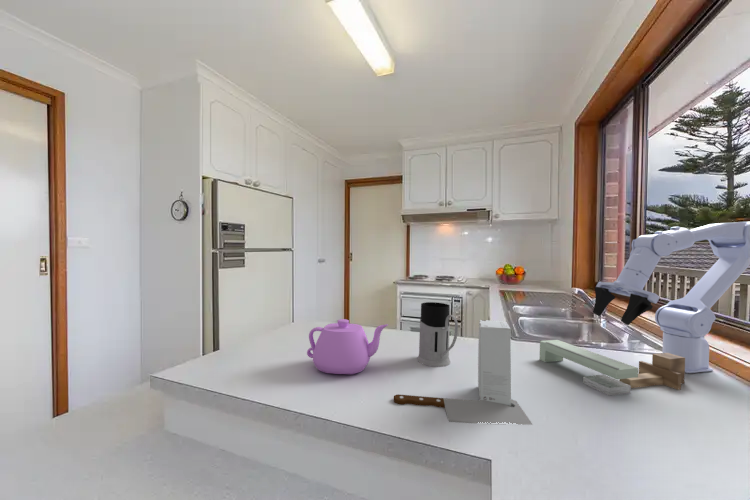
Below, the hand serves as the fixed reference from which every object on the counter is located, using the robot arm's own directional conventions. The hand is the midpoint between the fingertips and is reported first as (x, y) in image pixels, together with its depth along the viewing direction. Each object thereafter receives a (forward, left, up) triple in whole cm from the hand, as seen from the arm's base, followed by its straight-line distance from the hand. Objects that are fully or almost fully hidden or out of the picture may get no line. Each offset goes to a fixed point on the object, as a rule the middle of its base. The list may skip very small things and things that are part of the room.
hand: (609, 318), depth 81 cm
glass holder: (+44, -10, -13) cm, 47 cm away
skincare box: (+41, +8, -13) cm, 43 cm away
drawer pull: (+11, +2, -13) cm, 17 cm away
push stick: (-1, +10, -13) cm, 16 cm away
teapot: (+68, -12, -13) cm, 70 cm away
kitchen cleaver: (+51, +12, -14) cm, 54 cm away
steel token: (+13, +10, -13) cm, 21 cm away
